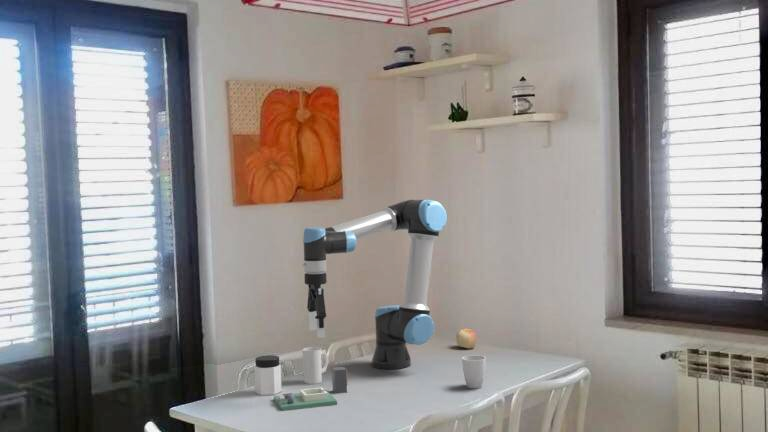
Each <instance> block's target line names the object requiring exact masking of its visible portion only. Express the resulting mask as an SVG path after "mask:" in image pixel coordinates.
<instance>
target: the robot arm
mask: <svg viewBox="0 0 768 432" xmlns="http://www.w3.org/2000/svg"><path fill="white" fill-rule="evenodd" d="M447 218H448V216H447V212H446V209H445V208H444V206H443V205H442V204H441V203H440V202H439V201H436V200H432V199H407V200H402V201H400V202H398V203H395V204H392V205H389V206H385V207H383V208H382V209H381V210H380V211H378V212H375V213H372V214H369V215H366V216H362V217H358V218H355V219H351V220H348V221H345V222H343V223H338V224H336V225H333V226H330V227H306V228H305V229H304V230H303V238H302V239H303V240H302V243H303V262H304V263H302V267H304V272H305V273H304V284H305V285H307V286H308V292H307V305H306V308H307V311H308V331H316V338H317V339H318V338H326V320H325V319H326V318H327V312H326V311H327V310H326V304H325V294H324V291H325V290H324V288H323V287H322V286H321V285H326V284H327V272H326V271H327V255H330V254H331V255H332V254H344V253H345V254H347V253H352V252H354V251H355V250H356V248H357V240H361V239H363V238H367V237H369V236H373V235H377V234H379V233H383V232H386V231H388V232H394V231H398V230H407V235H408V236H409V237H410V246H409V247H410V248H409V255H408V264H407V272H406V278H405V279H406V281H405V290H404V296H403V297H404V298H403V302H402V303H401V304H396V305H385V306H380V307H377V308H376V309H375V313H374V314H375V316H374V319H375V321H374V322H375V348H374V352H373V356H372V357H371V366H372V367H373V368H376V369H382V370H383V369H384V370H397V369H403V368H408V367H410V366H412V360H411V359H412V358H411V355H410V352H409V350H408V347H407V344H409V345H414V346H421V345H423V344H426V343H427V342H428V341H429V340H430V339H431V337H432V336H433V335H434V330H435V323H434V321H433V318H432V317H431V316H430V311H431V309H430V308H429V307H428V304H427V303H428V294H429V287H430V277H431V270H432V261H433V252H434V244H435V243H434V242H435V241H436V240H437V239H438V238H439V235H440V232H441V231H442V230H443V229H444V228H445V226H446V224H447V221H448V219H447Z"/></svg>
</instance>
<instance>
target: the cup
mask: <svg viewBox="0 0 768 432" xmlns="http://www.w3.org/2000/svg"><path fill="white" fill-rule="evenodd" d="M486 358H487V357H486V356H484V355H478V354H472V355H471V354H470V355H464V356H463V357H461V359H462V362H461V363H462V371H463V377H464V381H465V384H466V387H467V388H469V389H481V388H482V387H483V384H484V380H485V374H486V363H487V361H486V360H487V359H486Z"/></svg>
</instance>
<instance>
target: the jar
mask: <svg viewBox="0 0 768 432" xmlns="http://www.w3.org/2000/svg"><path fill="white" fill-rule="evenodd" d="M253 367H254V392H255V393H256V394H258V395H259V396H273V395H274V396H276V395H277V394H279V393H281V392H282V365H281V364H280V356H278V355H274V354H273V355H272V354H268V355H260V356H257V357H255V365H254V366H253Z"/></svg>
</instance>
